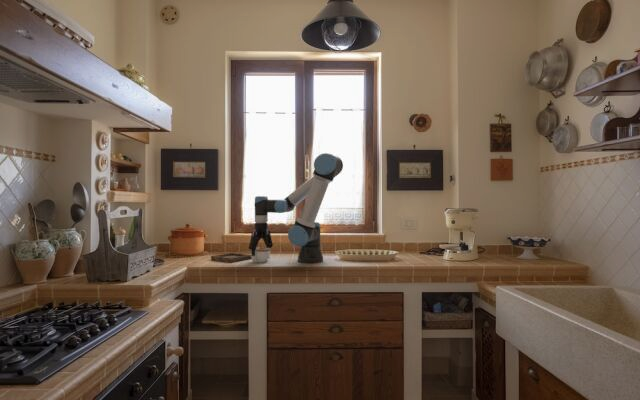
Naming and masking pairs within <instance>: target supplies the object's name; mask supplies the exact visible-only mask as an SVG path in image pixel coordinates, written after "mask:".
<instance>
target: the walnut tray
mask: <svg viewBox="0 0 640 400" xmlns="http://www.w3.org/2000/svg"><path fill="white" fill-rule="evenodd" d="M210 260H211V261H215V262H223V263H228V262H229V263H230V264H233V263H238V262H243V261H249V260H252V254H245V253H239V252H228V253H223V254H222V253H221V254H216V255H211V256H210Z"/></svg>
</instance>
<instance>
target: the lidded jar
mask: <svg viewBox="0 0 640 400" xmlns="http://www.w3.org/2000/svg"><path fill="white" fill-rule="evenodd" d="M255 250H257V261H256V262H255V263H266V262H267V261H268V260H270V259H269V256H270V255H271V248H267V247H265V246H264V247H263V245H260V246H259V247H258V246H257V247H256V249H255ZM270 257H271V256H270Z"/></svg>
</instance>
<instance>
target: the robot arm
mask: <svg viewBox="0 0 640 400" xmlns="http://www.w3.org/2000/svg"><path fill="white" fill-rule="evenodd" d="M313 168H314V170H313V171H312V172H313V173H312V176H311V177H310V178H308V179H307V180H306V181H304V182H303V183H302V184H301V185H299V187H297V188H296V189H295V190H293V192H291V193H290V194H288V196H286V197H285V198H284V199H268V197H269V196H267V195H266V196H264V195H262V196H261V195H260V196H255V198H254V222H255V223H254V229H255V231H252V232H251V237H250V240H249V245H248V246H249V247H248V249H249V250H250V251H251V255H252V259H251V261H252V262H255V263H257V262H256V261H257V250H255V249H256V248H258V244H259V242H260V240H261V239H262V240H263V242H264V244H265V246H266V247H267V248H270V249H272V248H273V246H274V244H273V240H272V236H271V230H268V228H269V227H268V220H269V217H268V215H269V214H268V213H270V214H271V213H272V214H273V213H275V214H276V213H277V214H282V213H283V214H284V213H289V212H292V211H294V210H295V207H296V206H297V205H299V204H300V203H301V202H303V200H305V199H306V200H305V203H304V205H303V208H302V210H301V213H300V216H299V217H298V218H296V219H295V222H294V224H293V226H291V227H290V229H288V233H287V238H288V241H289V243H290V244H291V245H293V246H295V247H300V249H299V251H298V252H299V253H298V255H297V261H298V262H301V263H309V264H311V263H314V264H315V263H321V262H324V256H323V252H322V249H321V224H320V222H316V219H317V216H318V215H319V214H318V213H319V210H320V208H321V205H322V202H323V201H324V197H325V194H326V192H327V190H328V187H329V184H330V183H332V182H333V181H334V178H336V177H337V176H338V175H339V174H341V172H342V171H343V168H344V163H343V161H342V159H341V157H339V156H338V155H334V154H331V153H328V152H325V153H324V152H323V153H321V154H318V155H317V156H316V157H315V159H314V161H313ZM270 257H271V256H269V259H268V260H271V259H270Z"/></svg>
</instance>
